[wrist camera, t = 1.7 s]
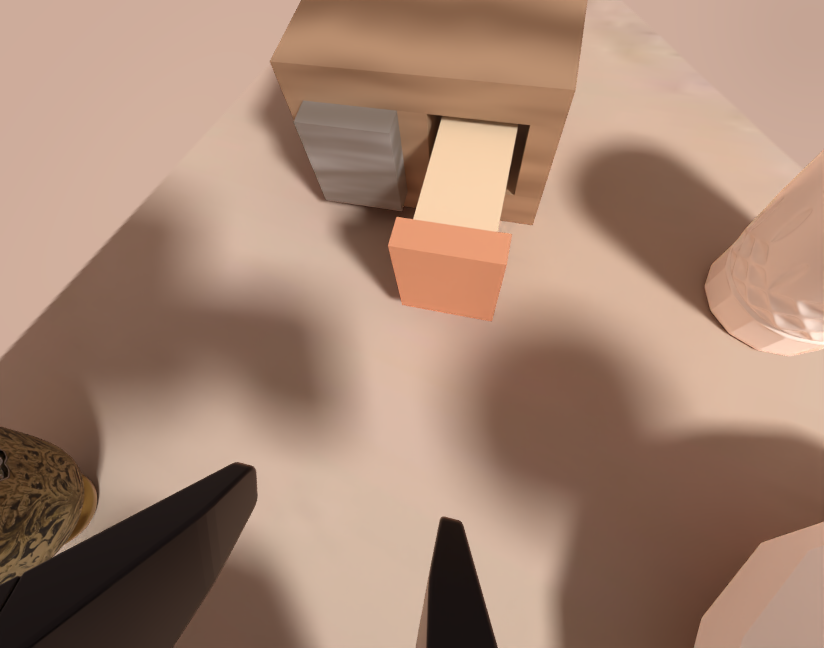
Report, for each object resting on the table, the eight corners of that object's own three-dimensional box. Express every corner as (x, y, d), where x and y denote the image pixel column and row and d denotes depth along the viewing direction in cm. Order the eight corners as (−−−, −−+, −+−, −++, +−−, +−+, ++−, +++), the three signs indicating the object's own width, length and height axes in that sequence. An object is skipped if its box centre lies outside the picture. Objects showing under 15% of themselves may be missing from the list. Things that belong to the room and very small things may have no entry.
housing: (529, 245, 26) (571, 116, 17) (318, 212, 28) (258, 83, 19) (547, 130, 29) (590, -27, 20) (357, 109, 31) (322, -41, 22)
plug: (491, 321, 22) (506, 265, 17) (402, 304, 23) (387, 245, 18) (517, 180, 26) (536, 94, 20) (438, 170, 26) (436, 85, 21)
